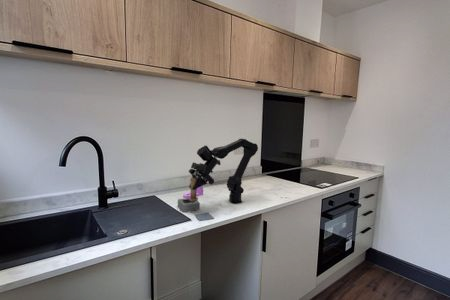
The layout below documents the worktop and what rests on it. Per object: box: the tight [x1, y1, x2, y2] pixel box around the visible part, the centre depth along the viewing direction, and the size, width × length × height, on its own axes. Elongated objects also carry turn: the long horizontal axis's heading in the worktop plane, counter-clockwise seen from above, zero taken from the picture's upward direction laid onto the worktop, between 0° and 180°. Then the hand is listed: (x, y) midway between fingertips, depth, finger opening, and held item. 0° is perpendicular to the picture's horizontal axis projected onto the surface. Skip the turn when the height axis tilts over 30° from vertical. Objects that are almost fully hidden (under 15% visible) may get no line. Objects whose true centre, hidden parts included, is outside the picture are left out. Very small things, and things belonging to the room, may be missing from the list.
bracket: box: [182, 185, 204, 199], centre depth 159 cm, size 13×6×7 cm, turn 129°
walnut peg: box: [189, 177, 199, 201], centre depth 131 cm, size 5×5×12 cm
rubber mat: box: [194, 212, 215, 222], centre depth 127 cm, size 8×8×1 cm
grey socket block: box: [177, 198, 201, 213], centre depth 138 cm, size 10×10×4 cm
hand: (191, 188), depth 130 cm, fingers closed on walnut peg, 3 cm apart
